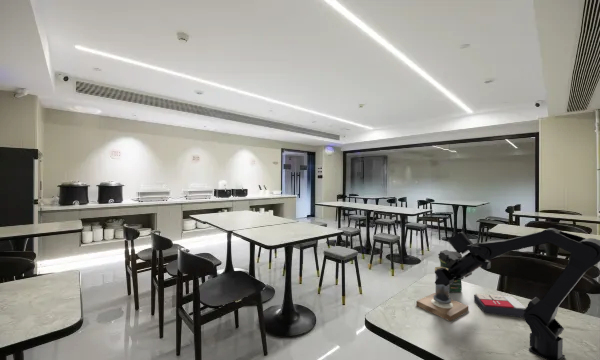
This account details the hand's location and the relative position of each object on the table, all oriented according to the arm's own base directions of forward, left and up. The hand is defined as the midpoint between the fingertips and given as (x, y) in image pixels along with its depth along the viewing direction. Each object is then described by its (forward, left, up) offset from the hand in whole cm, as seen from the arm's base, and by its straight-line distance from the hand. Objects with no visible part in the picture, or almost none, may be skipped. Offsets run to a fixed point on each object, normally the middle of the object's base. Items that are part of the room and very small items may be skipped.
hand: (439, 282), depth 107 cm
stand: (-1, 0, -10) cm, 11 cm away
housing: (-1, 0, -7) cm, 7 cm away
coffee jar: (+9, -20, -11) cm, 24 cm away
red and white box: (-12, -22, -11) cm, 27 cm away
